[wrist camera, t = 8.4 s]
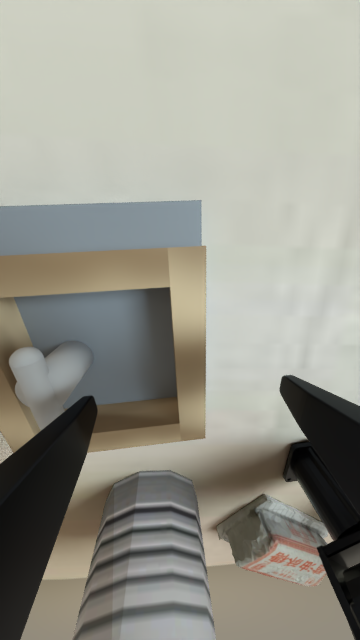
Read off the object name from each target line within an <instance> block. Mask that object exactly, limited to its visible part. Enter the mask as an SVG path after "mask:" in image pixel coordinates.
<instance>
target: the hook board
mask: <svg viewBox="0 0 360 640" xmlns="http://www.w3.org/2000/svg"><path fill="white" fill-rule="evenodd" d="M191 246H201V200H194V201H162V202H129V203H97V204H64V205H31V206H0V256H7V255H28V254H48V253H68V252H89V251H109V250H130V249H150V248H171V247H191ZM14 300H15V302H16V304H17V307H18V309H19V312H20V314H21V317H22V319H23V322H24V324H25V327H26V329H27V332H28V334H29V337H30V339H31V342H32V344H33V347H23V348H20V349H18V350H16V351H15V352H14V353H13V354H12V355H11V356H10V359H9V365H10V368H11V370H12V372H13V374H14V376H15V378H16V380H17V383H16V385H15V393H16V396H17V397H18V399H19V400H20V401H21V402H22V403H23V404H24V405H26V406H28V407H30V410H31V412H32V414H33V416H34V418H35V420H36V422H37V424H38V426H39V428H40V430H42V429H44V428H45V427H46V426H47V425H49V424H50V423H51V422H52V421H53V420H55V419H56V418H57V417H58V416H60V415H61V414H62V413H63V412H64V411H65V410H64V409H66V408H69V407H71V406H72V405H73V404H74V403H75V402H77V401H78V400H79V399H80V398H82V397H83V396H89V395H92V396H94V398H95V402H96V405H104V404H113V403H123V402H132V401H142V400H151V399H160V398H170V397H177V386H176V372H175V358H174V344H173V330H172V316H171V302H170V288H169V287H162V288H147V289H131V290H115V291H100V292H84V293H68V294H53V295H37V296H21V297H14Z"/></svg>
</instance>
